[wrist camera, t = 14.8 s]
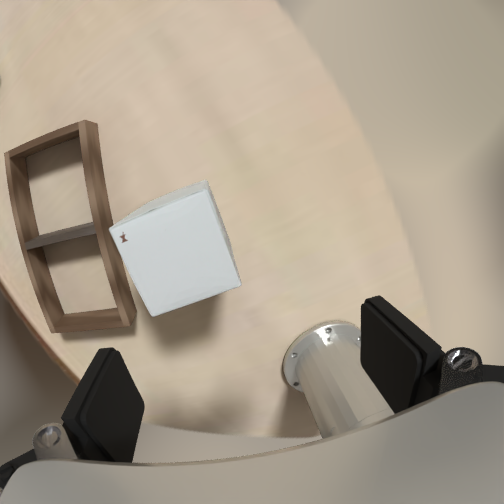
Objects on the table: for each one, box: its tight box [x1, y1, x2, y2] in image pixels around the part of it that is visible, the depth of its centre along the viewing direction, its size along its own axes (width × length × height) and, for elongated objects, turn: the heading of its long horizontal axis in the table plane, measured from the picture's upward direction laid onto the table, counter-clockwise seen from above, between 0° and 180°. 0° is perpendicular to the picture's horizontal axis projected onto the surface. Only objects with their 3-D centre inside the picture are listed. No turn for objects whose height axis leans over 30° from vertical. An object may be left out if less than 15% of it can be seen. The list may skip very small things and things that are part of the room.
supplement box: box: [109, 180, 242, 317], centre depth 25 cm, size 7×7×13 cm
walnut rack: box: [4, 120, 137, 333], centre depth 27 cm, size 22×12×4 cm, turn 7°
